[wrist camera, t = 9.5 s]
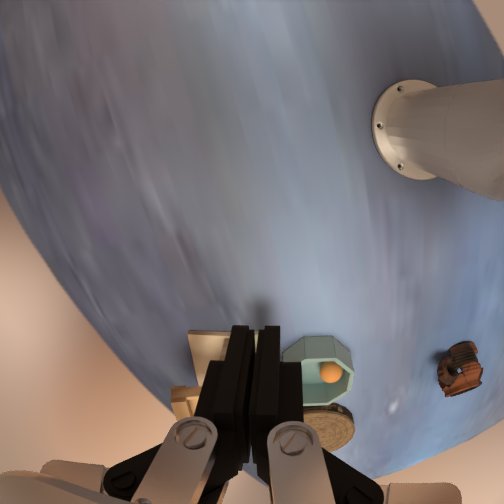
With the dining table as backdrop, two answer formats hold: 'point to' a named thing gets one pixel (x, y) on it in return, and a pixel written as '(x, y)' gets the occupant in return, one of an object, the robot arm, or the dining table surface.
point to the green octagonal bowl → (312, 357)
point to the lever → (188, 397)
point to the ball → (330, 371)
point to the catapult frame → (207, 349)
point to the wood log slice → (330, 424)
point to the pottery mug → (469, 366)
